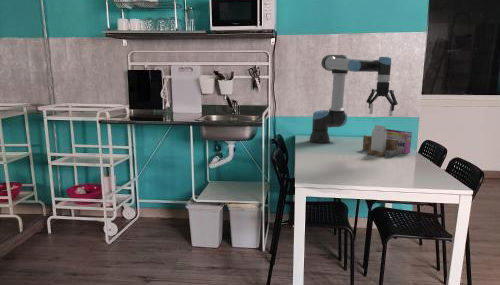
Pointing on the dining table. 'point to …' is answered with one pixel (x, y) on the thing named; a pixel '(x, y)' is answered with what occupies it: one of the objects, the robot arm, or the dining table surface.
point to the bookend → (390, 153)
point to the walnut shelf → (367, 146)
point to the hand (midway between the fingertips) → (380, 114)
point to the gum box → (401, 139)
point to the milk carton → (379, 139)
